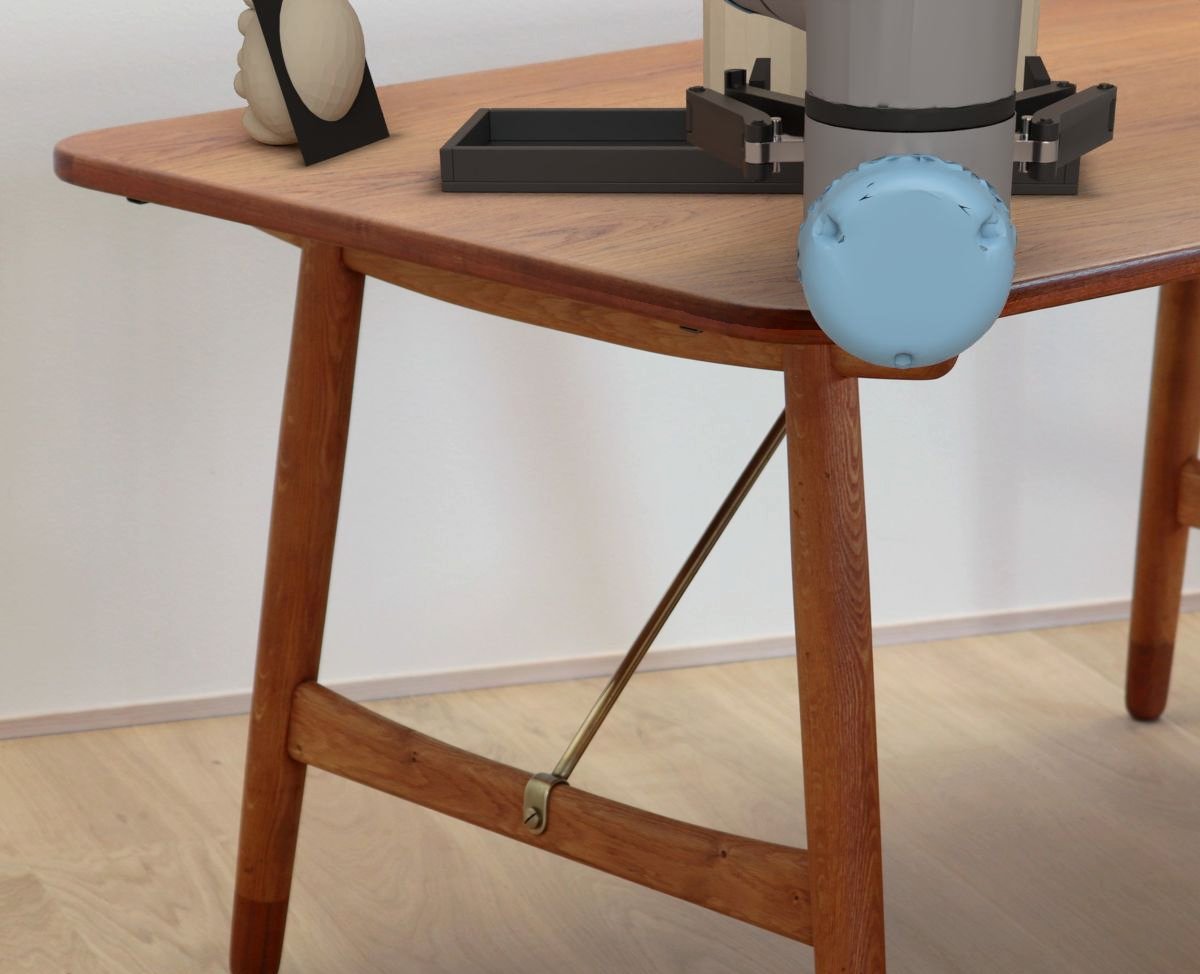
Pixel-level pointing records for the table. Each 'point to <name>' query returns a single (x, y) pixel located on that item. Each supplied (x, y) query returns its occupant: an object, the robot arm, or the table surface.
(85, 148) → the table surface
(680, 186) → the tray
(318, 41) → the decorative object
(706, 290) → the table surface
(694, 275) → the table surface
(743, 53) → the cream bottle mid
